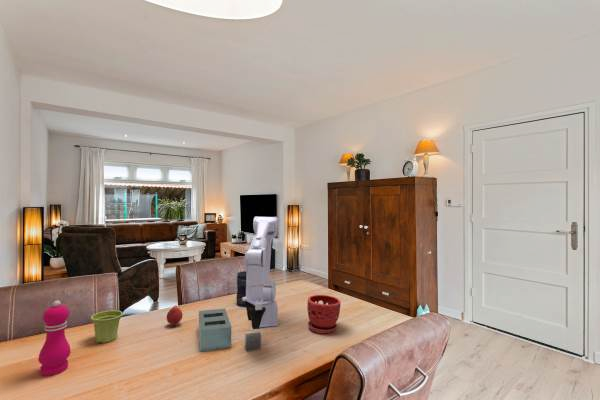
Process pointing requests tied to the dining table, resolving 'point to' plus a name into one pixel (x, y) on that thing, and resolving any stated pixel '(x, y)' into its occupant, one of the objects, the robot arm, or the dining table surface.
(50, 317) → the pepper mill
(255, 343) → the grey tall block
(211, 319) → the toaster
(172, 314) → the onion
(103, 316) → the plant pot
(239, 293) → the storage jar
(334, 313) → the plant pot
